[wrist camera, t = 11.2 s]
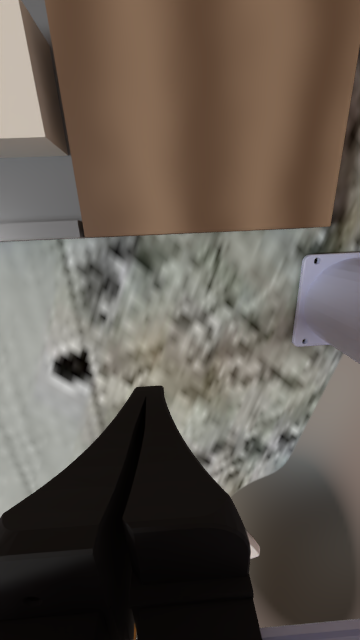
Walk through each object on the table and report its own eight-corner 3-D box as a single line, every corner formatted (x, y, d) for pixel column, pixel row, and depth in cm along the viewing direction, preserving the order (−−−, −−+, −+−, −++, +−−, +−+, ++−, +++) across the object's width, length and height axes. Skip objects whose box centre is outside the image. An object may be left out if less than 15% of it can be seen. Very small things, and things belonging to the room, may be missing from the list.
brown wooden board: (345, -86, 13) (396, -180, 10) (305, 228, 18) (330, 226, 15) (49, -84, 12) (13, -181, 9) (98, 237, 18) (84, 237, 15)
